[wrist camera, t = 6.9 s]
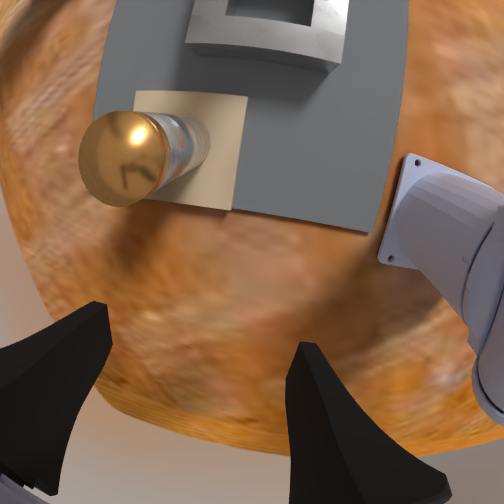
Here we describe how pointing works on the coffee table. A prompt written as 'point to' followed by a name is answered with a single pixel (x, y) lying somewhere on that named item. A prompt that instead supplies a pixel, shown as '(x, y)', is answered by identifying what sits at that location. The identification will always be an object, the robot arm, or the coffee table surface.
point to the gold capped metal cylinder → (139, 153)
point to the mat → (280, 103)
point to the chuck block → (270, 35)
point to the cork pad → (221, 148)
